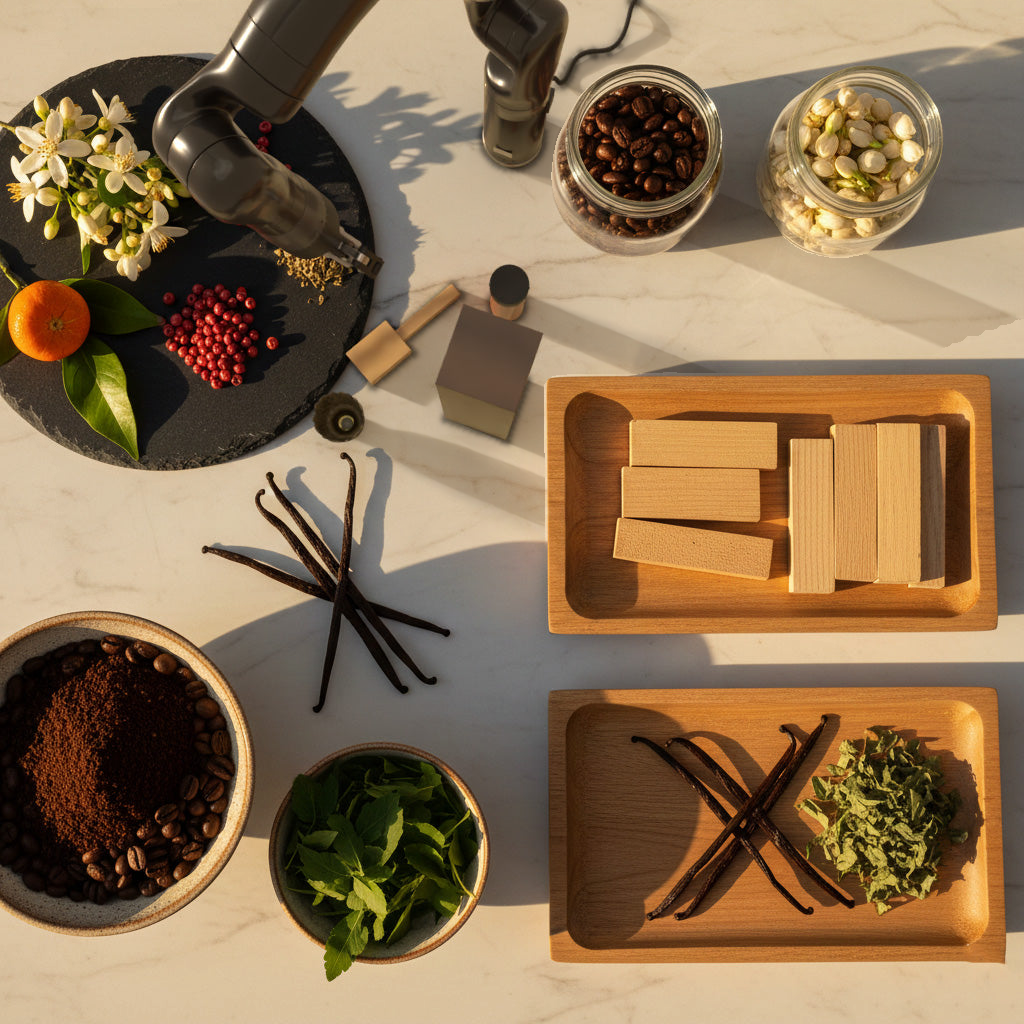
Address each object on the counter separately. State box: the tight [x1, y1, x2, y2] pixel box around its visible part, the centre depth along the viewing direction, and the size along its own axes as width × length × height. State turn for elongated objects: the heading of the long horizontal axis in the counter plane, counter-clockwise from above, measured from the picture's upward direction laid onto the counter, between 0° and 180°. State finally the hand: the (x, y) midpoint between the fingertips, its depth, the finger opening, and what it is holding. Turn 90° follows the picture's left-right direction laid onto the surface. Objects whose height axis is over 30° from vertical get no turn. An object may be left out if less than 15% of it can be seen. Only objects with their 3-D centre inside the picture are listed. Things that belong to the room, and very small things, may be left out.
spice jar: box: [489, 295, 526, 322], centre depth 120 cm, size 5×5×10 cm
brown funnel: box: [311, 391, 366, 444], centre depth 120 cm, size 8×7×8 cm
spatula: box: [345, 283, 461, 386], centre depth 123 cm, size 6×20×2 cm, turn 130°
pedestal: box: [434, 303, 544, 441], centre depth 109 cm, size 10×10×31 cm
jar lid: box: [488, 263, 531, 308], centre depth 115 cm, size 6×6×2 cm
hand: (345, 252), depth 102 cm, fingers open, 8 cm apart
